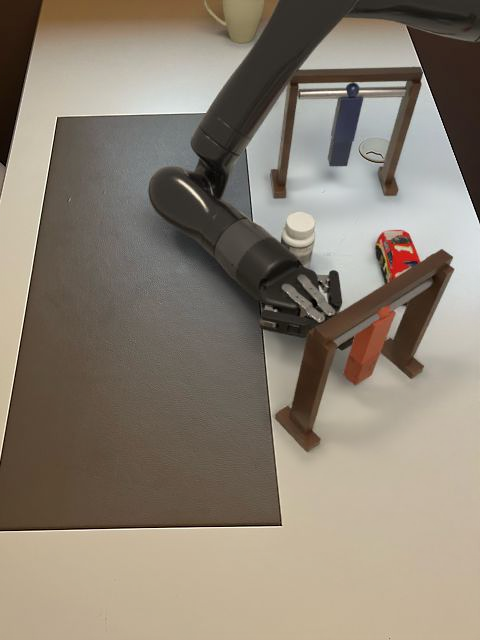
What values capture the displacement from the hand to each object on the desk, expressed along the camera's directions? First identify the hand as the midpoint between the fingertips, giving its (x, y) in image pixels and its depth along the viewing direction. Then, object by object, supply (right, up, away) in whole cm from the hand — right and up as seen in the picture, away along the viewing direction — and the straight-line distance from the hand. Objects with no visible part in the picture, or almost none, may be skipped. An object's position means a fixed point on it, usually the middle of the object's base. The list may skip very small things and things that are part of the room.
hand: (348, 343), depth 74 cm
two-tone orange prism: (+1, -4, +2) cm, 4 cm away
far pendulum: (+4, +30, +25) cm, 40 cm away
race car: (+12, +11, +17) cm, 24 cm away
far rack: (+5, +28, +29) cm, 40 cm away
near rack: (+2, -6, +5) cm, 8 cm away
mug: (-9, +67, +56) cm, 88 cm away
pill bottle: (-4, +13, +19) cm, 23 cm away
